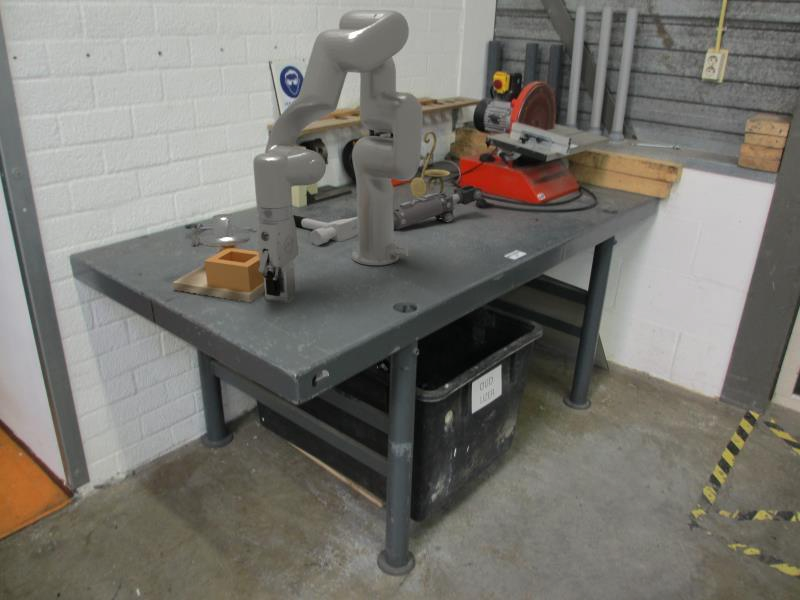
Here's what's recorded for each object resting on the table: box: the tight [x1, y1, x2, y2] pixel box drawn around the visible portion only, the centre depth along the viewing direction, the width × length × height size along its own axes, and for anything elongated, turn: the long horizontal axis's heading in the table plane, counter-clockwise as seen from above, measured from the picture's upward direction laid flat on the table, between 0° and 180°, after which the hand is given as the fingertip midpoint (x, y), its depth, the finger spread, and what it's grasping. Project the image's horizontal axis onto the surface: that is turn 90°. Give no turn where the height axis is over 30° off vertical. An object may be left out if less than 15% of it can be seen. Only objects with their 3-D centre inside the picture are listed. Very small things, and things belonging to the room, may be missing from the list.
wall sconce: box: [410, 130, 451, 199], centre depth 213 cm, size 14×10×25 cm
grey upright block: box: [264, 258, 297, 304], centre depth 141 cm, size 6×4×10 cm
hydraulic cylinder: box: [394, 184, 483, 231], centre depth 196 cm, size 7×37×10 cm, turn 123°
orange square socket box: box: [172, 213, 265, 303], centre depth 150 cm, size 21×21×14 cm
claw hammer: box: [293, 214, 357, 246], centre depth 191 cm, size 5×22×30 cm
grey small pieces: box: [190, 223, 258, 247], centre depth 180 cm, size 20×1×6 cm, turn 135°
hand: (280, 289), depth 142 cm, fingers open, 5 cm apart
